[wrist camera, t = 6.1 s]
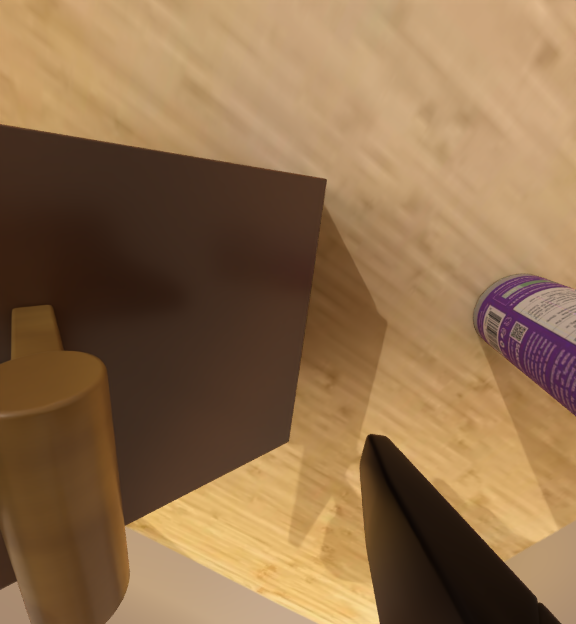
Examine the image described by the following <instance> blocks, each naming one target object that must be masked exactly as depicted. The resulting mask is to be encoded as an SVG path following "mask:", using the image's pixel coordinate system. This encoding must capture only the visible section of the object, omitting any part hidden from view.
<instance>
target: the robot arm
mask: <svg viewBox="0 0 576 624" xmlns="http://www.w3.org/2000/svg"><path fill="white" fill-rule="evenodd" d="M360 482H361V494H362V506H363V518H364V530H365V541H366V549H367V555H368V561H369V566H370V572H371V577H372V583H373V588H374V594H375V599H376V605H377V610H378V616H379V621H380V624H561V623H560V622H559V621H558V620H557V618H556V617H554V615H553V614H552V613H551V612H550V611H549V610H548V609H547V608H546V607H545V606H544V605H543V604H542V603H538V601H537V598H536V596H535V595H534V594H533V593H532V592H531V591H530V590H529V589H528V588H527V587H526V585H525V584H524V583H523V582H522V581H521V580H520V579H519V578H518V577H517V576H516V575H515V574H514V573H513V571H512V570H511V569H510V568H509V567H508V566H507V565H506V564H505V563H504V562H503V561H502V560H501V559H500V557H499V556H498V555H497V554H496V553H495V552H494V551H493V550H492V549H491V548H490V547H489V546H488V545H487V543H486V542H485V541H484V540H483V539H482V538H481V537H480V536H479V535H478V534H477V533H476V532H475V531H474V530H473V528H472V527H471V526H470V525H469V524H468V523H467V522H466V521H465V520H464V519H463V518H462V517H461V516H460V514H459V513H458V512H457V511H456V510H455V509H454V508H453V507H452V506H451V505H450V504H449V503H448V502H447V500H446V499H445V498H444V497H443V496H442V495H441V494H440V493H439V492H438V491H437V490H436V489H435V488H434V487H433V485H432V484H431V483H430V482H429V481H428V480H427V479H426V478H425V477H424V476H423V475H422V474H421V473H420V471H419V470H418V469H417V468H416V467H415V466H414V465H413V464H412V463H411V462H410V461H409V460H408V459H407V457H406V456H405V455H404V454H403V453H402V452H401V451H400V450H399V449H398V448H397V447H396V446H395V445H394V444H393V442H392V441H391V440H390V439H389V438H388V437H386V436H383V435H375V434H370V435H368V436H367V438H366V441H365V445H364V449H363V453H362V456H361V460H360Z"/></svg>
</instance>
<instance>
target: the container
mask: <svg viewBox="0 0 576 624" xmlns="http://www.w3.org/2000/svg"><path fill="white" fill-rule="evenodd" d="M473 322H474V327H475V329H476V331H477V333H478V334H479V336H480V337H481V338H482V339H484V340H485V341H486V342H487V343H488V344H489V345H491V346H492V347H493V348H494V349H495V350H497V351H498V352H499V353H500V354H501V355H503V356H504V357H505V358H506V359H507V360H509V361H510V362H511V363H512V364H513V365H515V366H516V367H517V368H518V369H520V370H521V371H522V372H523V373H524V374H526V375H527V376H528V377H529V378H530V379H532V380H533V381H534V382H535V383H536V384H538V385H539V386H540V387H541V388H542V389H544V390H545V391H546V392H547V393H548V394H550V395H551V396H552V397H553V398H555V399H556V400H557V401H558V402H559V403H561V404H562V405H563V406H564V407H565V408H567V409H568V410H569V411H570V412H571V413H573V414H574V415H575V416H576V290H575V289H573V288H570V287H567V286H564V285H561V284H559V283H556V282H553V281H550V280H547V279H545V278H542V277H538V276H535V275H531V274H516V275H511V276H508V277H505V278H503V279H501V280H499V281H497V282H495V283H494V284H493V285H491V286H490V287H489V288H488V289H487V290H486V291H485V292H484V293H483V294H482V295H481V297H480V298H479V300H478V302H477V304H476V306H475V309H474V315H473Z"/></svg>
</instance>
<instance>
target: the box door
mask: <svg viewBox="0 0 576 624" xmlns="http://www.w3.org/2000/svg"><path fill="white" fill-rule="evenodd" d="M326 182H327V180H326V179H323V178H317V177H312V176H306V175H300V174H294V173H288V172H282V171H276V170H270V169H264V168H258V167H252V166H246V165H240V164H234V163H228V162H222V161H216V160H210V159H204V158H198V157H193V156H187V155H181V154H175V153H169V152H163V151H157V150H151V149H145V148H139V147H133V146H127V145H121V144H115V143H109V142H103V141H97V140H91V139H85V138H79V137H73V136H68V135H62V134H56V133H50V132H44V131H38V130H32V129H26V128H20V127H14V126H8V125H2V124H0V590H1V589H3V588H5V587H6V586H9V585H10V584H12V583H14V582H16V581H17V582H18V585H19V589H20V592H21V595H22V597H23V601H24V604H25V607H26V610H27V613H28V616H29V619H30V622H31V624H105V623H106V622H107V621H108V620H109V619H110V618H111V616H112V615H113V614H114V612H115V611H116V610H117V608H118V607H119V605H120V603H121V602H122V600H123V598H124V595H125V593H126V590H127V587H128V583H129V577H130V570H129V560H128V552H127V544H126V534H125V525H127V524H129V523H131V522H133V521H135V520H137V519H139V518H141V517H143V516H145V515H147V514H149V513H151V512H153V511H155V510H157V509H159V508H161V507H162V506H164V505H166V504H168V503H170V502H172V501H174V500H176V499H178V498H180V497H182V496H184V495H186V494H188V493H190V492H192V491H194V490H196V489H198V488H199V487H201V486H203V485H205V484H207V483H209V482H211V481H213V480H215V479H217V478H219V477H221V476H223V475H225V474H227V473H229V472H231V471H233V470H235V469H236V468H238V467H240V466H242V465H244V464H246V463H248V462H250V461H252V460H254V459H256V458H258V457H260V456H262V455H264V454H266V453H268V452H270V451H272V450H273V449H275V448H277V447H279V446H281V445H283V444H285V443H287V442H289V437H290V430H291V423H292V416H293V409H294V402H295V396H296V389H297V382H298V375H299V368H300V361H301V354H302V347H303V341H304V334H305V327H306V320H307V313H308V306H309V299H310V292H311V286H312V279H313V272H314V265H315V258H316V251H317V244H318V237H319V231H320V224H321V217H322V210H323V203H324V196H325V189H326Z"/></svg>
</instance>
